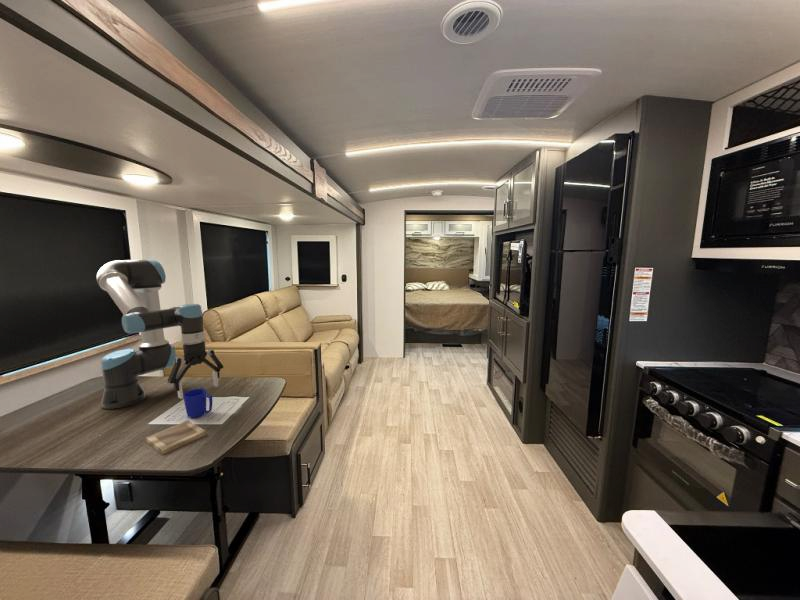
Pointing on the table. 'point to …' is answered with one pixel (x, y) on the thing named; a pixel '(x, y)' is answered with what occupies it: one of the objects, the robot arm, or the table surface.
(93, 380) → the table surface
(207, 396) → the mug
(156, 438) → the trivet
